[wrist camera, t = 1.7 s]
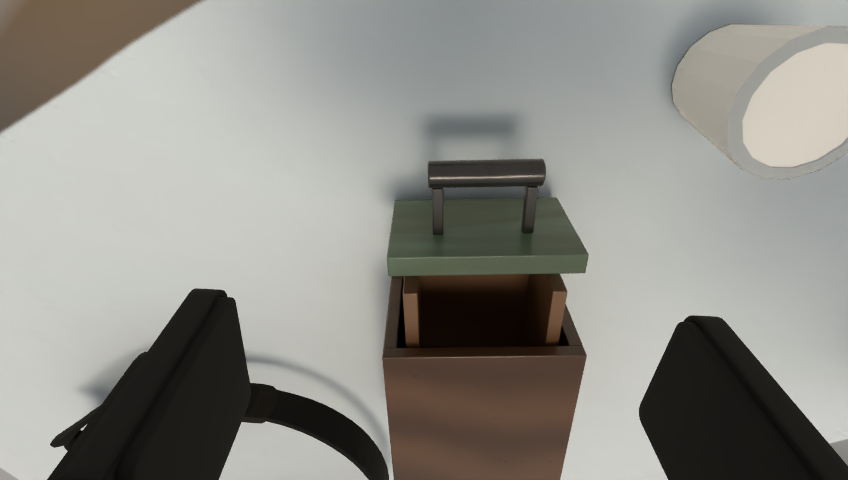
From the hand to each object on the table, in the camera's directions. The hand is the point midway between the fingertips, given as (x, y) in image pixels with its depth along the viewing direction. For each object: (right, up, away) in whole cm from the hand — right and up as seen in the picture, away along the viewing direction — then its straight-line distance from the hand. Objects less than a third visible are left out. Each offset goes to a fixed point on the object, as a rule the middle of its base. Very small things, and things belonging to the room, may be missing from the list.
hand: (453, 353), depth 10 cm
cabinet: (+3, -6, +27) cm, 28 cm away
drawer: (+3, +2, +22) cm, 22 cm away
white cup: (+17, +12, +17) cm, 26 cm away
